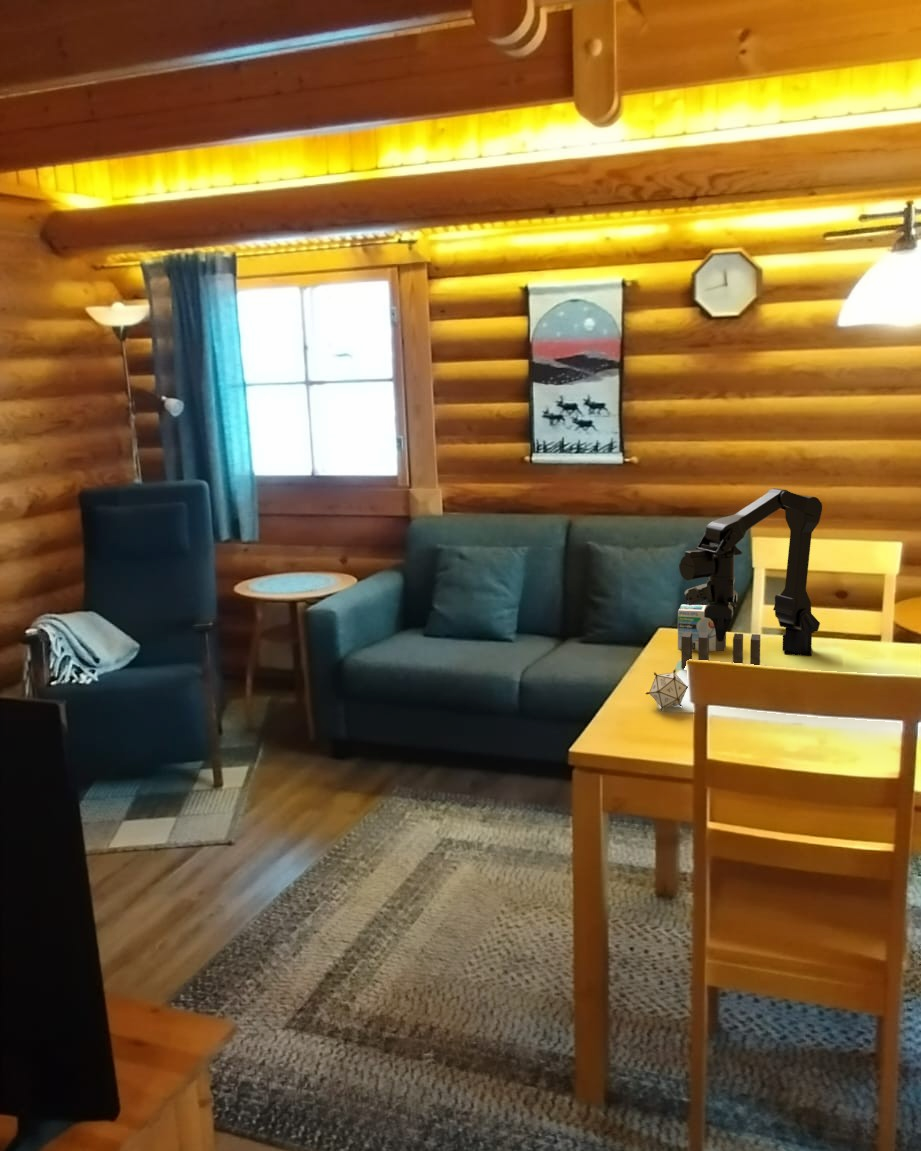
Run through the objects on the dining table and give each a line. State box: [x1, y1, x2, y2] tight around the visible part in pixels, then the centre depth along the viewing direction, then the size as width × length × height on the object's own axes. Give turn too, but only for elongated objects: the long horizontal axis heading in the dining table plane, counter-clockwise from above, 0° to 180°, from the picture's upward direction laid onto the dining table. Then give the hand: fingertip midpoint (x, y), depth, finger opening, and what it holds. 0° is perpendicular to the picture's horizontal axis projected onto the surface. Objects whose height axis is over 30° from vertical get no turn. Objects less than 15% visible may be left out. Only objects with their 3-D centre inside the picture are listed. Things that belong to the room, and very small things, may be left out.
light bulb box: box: [677, 603, 717, 652], centre depth 263 cm, size 11×7×11 cm, turn 70°
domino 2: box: [697, 632, 710, 661], centre depth 246 cm, size 2×5×8 cm, turn 161°
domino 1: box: [680, 631, 693, 669], centre depth 248 cm, size 2×5×8 cm, turn 161°
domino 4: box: [732, 633, 744, 664], centre depth 244 cm, size 2×5×8 cm, turn 161°
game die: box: [645, 669, 689, 712], centre depth 220 cm, size 9×8×10 cm
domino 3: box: [715, 633, 727, 653], centre depth 244 cm, size 2×5×8 cm, turn 161°
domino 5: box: [749, 633, 761, 665], centre depth 242 cm, size 2×5×8 cm, turn 161°
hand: (721, 638), depth 244 cm, fingers closed on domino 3, 5 cm apart
